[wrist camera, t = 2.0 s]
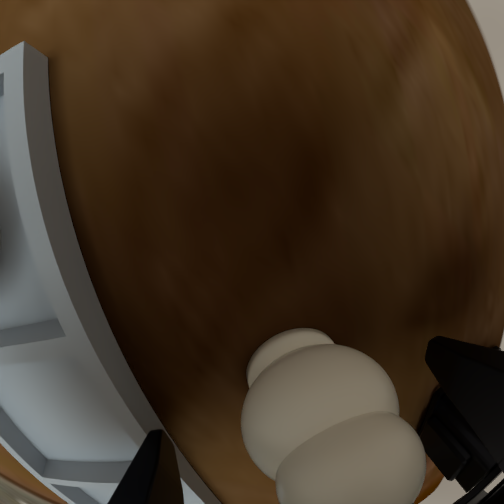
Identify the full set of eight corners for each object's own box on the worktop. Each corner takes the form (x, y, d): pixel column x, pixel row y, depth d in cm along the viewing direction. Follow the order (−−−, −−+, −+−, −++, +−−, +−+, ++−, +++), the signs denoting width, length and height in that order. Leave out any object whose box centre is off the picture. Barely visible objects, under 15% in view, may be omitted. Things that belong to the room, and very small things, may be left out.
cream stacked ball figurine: (349, 293, 9) (499, 428, 3) (349, 387, 10) (434, 506, 4) (213, 333, 8) (267, 553, 2) (242, 422, 10) (289, 571, 4)
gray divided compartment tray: (48, 57, 5) (23, 40, 3) (225, 508, 12) (230, 527, 11) (-93, 161, 4) (-116, 165, 2) (113, 514, 11) (113, 531, 10)
